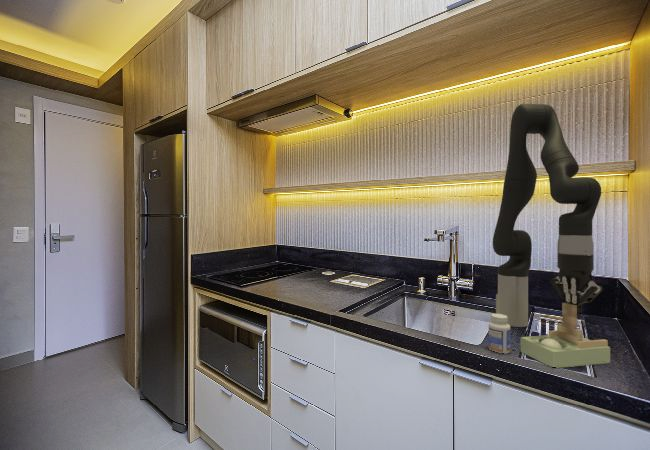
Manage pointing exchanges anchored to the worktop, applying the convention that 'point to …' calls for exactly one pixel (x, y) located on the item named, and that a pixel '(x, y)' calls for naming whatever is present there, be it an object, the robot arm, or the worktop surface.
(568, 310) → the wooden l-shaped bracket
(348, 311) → the worktop surface
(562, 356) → the green tray
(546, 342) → the ball
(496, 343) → the pill bottle
